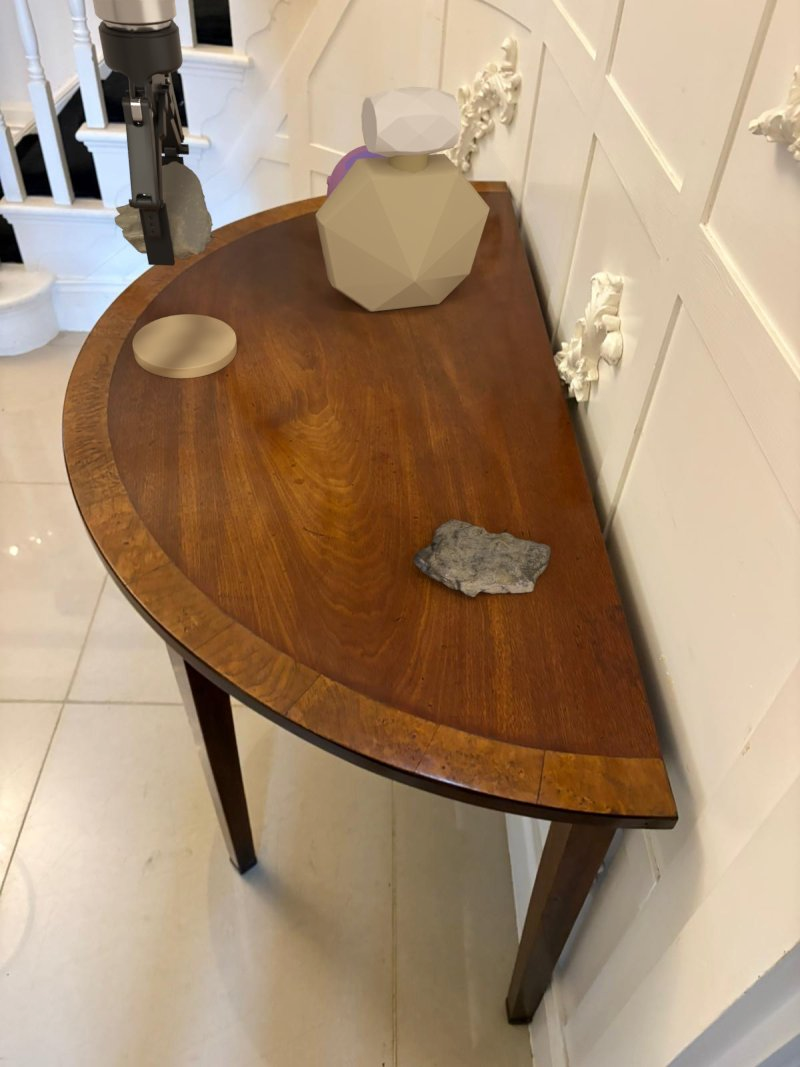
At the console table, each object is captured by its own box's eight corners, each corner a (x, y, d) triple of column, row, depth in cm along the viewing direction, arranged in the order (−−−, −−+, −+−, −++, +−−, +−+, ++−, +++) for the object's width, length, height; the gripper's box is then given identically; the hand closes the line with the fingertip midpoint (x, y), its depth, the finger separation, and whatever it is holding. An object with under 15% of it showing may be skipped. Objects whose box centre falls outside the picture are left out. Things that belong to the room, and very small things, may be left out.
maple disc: (125, 377, 97) (123, 367, 96) (143, 322, 106) (141, 312, 105) (232, 379, 98) (231, 369, 97) (241, 325, 107) (240, 315, 106)
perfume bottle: (489, 310, 114) (523, 99, 94) (329, 328, 108) (328, 106, 88) (459, 271, 122) (484, 68, 102) (308, 286, 116) (303, 74, 96)
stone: (549, 552, 80) (555, 532, 78) (539, 615, 74) (545, 596, 72) (415, 523, 82) (417, 503, 80) (395, 583, 76) (396, 563, 74)
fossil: (189, 255, 99) (106, 229, 94) (212, 170, 94) (126, 138, 89) (211, 291, 88) (119, 264, 83) (238, 197, 84) (142, 163, 78)
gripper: (157, 59, 67) (189, 290, 82) (193, -6, 85) (215, 195, 100) (67, 54, 67) (116, 288, 82) (122, -11, 84) (154, 192, 99)
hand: (170, 237), depth 91 cm, fingers closed on fossil, 12 cm apart
